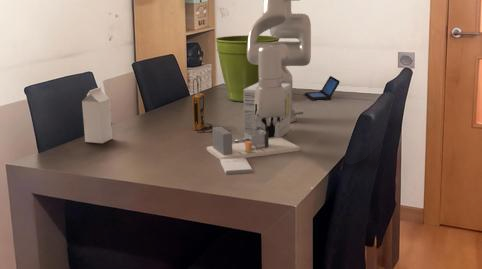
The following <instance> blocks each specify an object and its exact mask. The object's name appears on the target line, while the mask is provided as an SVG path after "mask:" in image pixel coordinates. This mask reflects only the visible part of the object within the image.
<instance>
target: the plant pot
mask: <svg viewBox="0 0 482 269" xmlns="http://www.w3.org/2000/svg"><path fill="white" fill-rule="evenodd" d="M248 35H249V34H248ZM248 35H230V36H221V37H219V36H218V37H215V42H216V51H217V53H218V59H219V66H220V68H221V74H222V77H223V81H224V84H225V87H226V91H227V93H226V94H227V98H228V99H229V100H230V101H234V102H243V103H244V92H243V90H244V89H246V88H247V87H249V86H251V85H253V84H256V83H258V82H259V65H255V64H251V63H250V62H249V61H248V59H247V43H248ZM280 39H281V38H274V37H272V36H271V35H259V36H258V38H257V40H256V43H257V42H271V43H272V42H278V41H280Z"/></svg>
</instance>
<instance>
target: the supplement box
mask: <svg viewBox="0 0 482 269" xmlns="http://www.w3.org/2000/svg"><path fill="white" fill-rule="evenodd" d="M281 86H282V87H283V90H284V95H285V118H283V119H281V120H279V121H278V122H277V124H276V125H275V134H274V137H271V138H269V137H268V139H274V138H283V136H285V135H286V134H287V133H288V132H290V131H291V122H290V105H291V84H285V83H282V85H281ZM256 87H259V82H258V83H256V84H253V85H251V86H249V87H247V88H246V89H244V90H243V92H244V102H243V133H244V132H247V131H255V130H257V127H261V128H263V129H265V125H264V123H263V122H260V121H256V120H255V116H256V115H254V97H255V91H256ZM270 118H271V117H269V120H270Z"/></svg>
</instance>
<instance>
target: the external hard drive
mask: <svg viewBox="0 0 482 269" xmlns="http://www.w3.org/2000/svg"><path fill="white" fill-rule="evenodd" d="M219 162H220V164H221V166H222V169H223V171H224V173H225V174H226V175H231V174H246V173H253V172H254V170H253V168H252V167H251V165H250V163H249V162H248V160H247V158H233V159H221V160H219Z"/></svg>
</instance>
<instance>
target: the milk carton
mask: <svg viewBox="0 0 482 269" xmlns="http://www.w3.org/2000/svg"><path fill="white" fill-rule="evenodd" d="M110 99H111V98H110V97H109V96H107V95H106V93H105V92H104V91H102V89H101V86H100V87H96V88H94V89H91V90H89V91H88V92H87V94H86V97H85V98H84V99H83V100H82V101H81V105H82V118H83V131H84V143H92V144H94V143H95V144H104V143H107V142H108V141H110V140H112V139H113V129H112V128H113V126H112V115H111V113H112V112H111V100H110Z"/></svg>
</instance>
